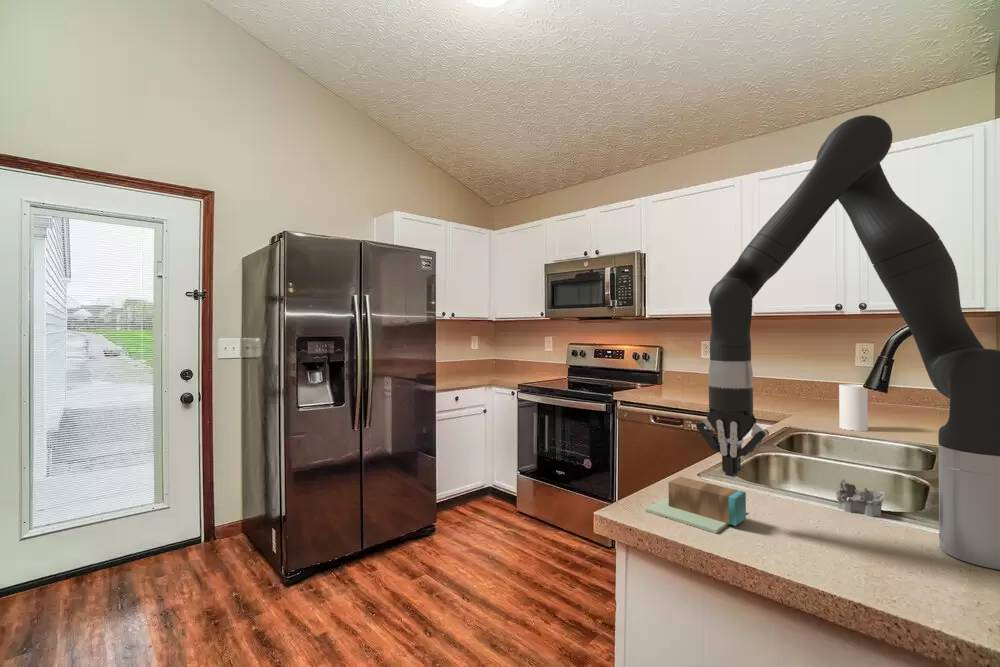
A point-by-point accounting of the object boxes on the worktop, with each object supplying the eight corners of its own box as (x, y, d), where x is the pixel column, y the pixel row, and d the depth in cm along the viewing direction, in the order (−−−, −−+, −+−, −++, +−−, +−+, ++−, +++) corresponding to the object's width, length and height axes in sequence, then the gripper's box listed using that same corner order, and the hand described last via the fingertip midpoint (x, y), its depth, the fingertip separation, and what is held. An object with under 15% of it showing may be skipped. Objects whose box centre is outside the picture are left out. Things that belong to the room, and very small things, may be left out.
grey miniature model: (841, 496, 99) (841, 478, 99) (886, 505, 94) (886, 485, 94) (833, 510, 92) (832, 490, 92) (881, 520, 87) (881, 499, 87)
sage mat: (745, 512, 91) (745, 509, 91) (716, 533, 81) (716, 530, 81) (678, 494, 101) (678, 491, 101) (645, 511, 92) (645, 508, 92)
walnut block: (745, 492, 86) (680, 476, 96) (735, 498, 83) (668, 481, 93) (745, 518, 86) (680, 499, 96) (735, 525, 83) (668, 506, 93)
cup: (842, 425, 171) (841, 383, 171) (869, 428, 165) (869, 385, 165) (837, 428, 166) (836, 385, 166) (865, 432, 160) (865, 387, 160)
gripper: (776, 385, 83) (777, 479, 83) (704, 380, 93) (705, 464, 93) (761, 389, 78) (762, 488, 78) (687, 383, 88) (688, 471, 88)
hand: (731, 475), depth 86 cm, fingers closed
